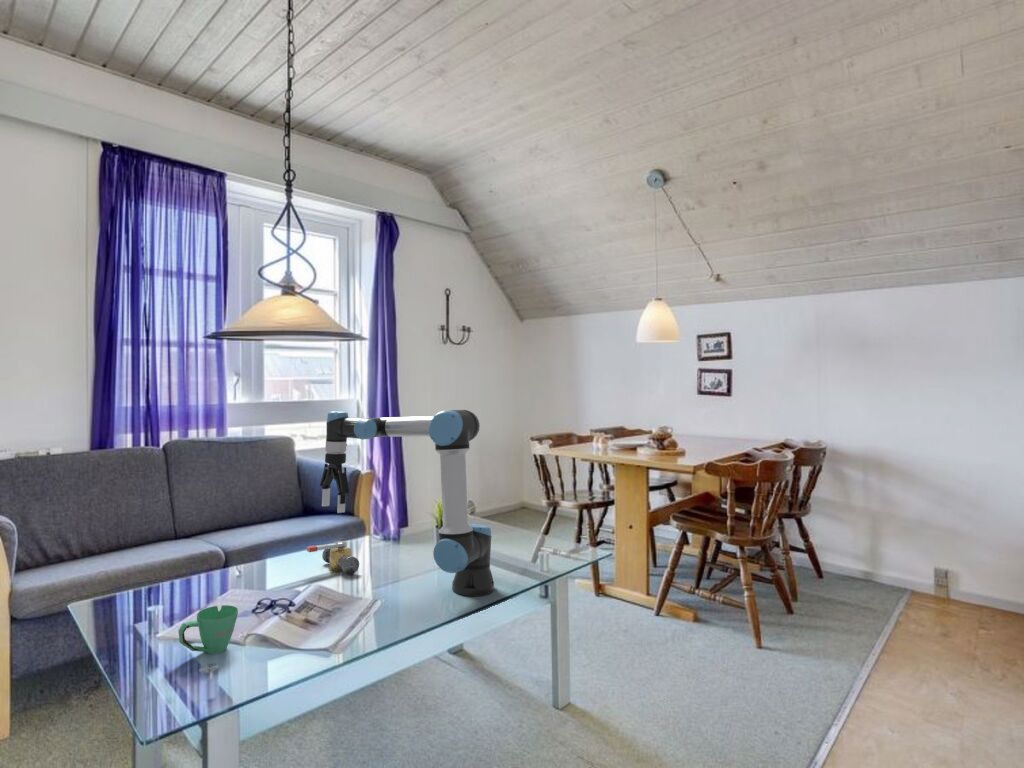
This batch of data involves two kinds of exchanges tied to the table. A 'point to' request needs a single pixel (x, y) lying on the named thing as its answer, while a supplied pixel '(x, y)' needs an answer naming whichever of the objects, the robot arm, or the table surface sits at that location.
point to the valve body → (341, 560)
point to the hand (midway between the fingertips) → (333, 509)
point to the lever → (327, 546)
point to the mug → (212, 629)
